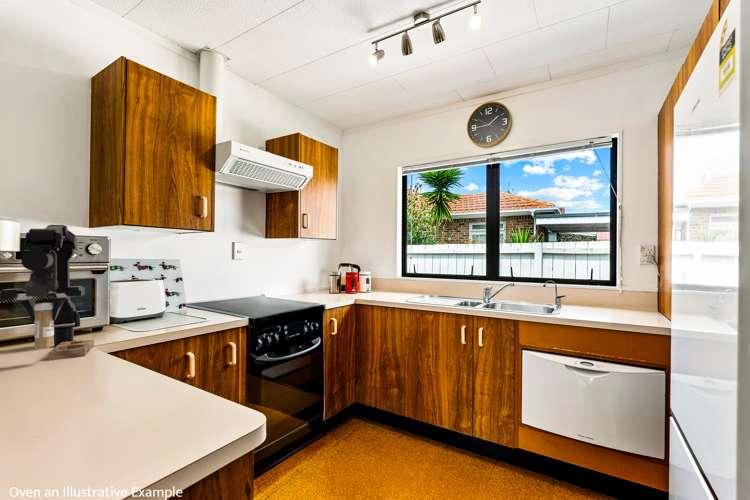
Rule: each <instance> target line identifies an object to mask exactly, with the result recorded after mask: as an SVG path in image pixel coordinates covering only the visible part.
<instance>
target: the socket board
mask: <svg viewBox="0 0 750 500" xmlns="http://www.w3.org/2000/svg"><path fill="white" fill-rule="evenodd" d="M94 346H95V339H93V338H92V339H85V340H84V339H83V340H81V339H79V340H76V341H70V342H62V343H60V344H59V345H58V346H55V347H53V348H52V349H51V350H49V351H48V361H54V360H62V359H73V358H78V357H80V358H81V357H85V356H86V355H87V354H88V353H89V352H90V351H91V350H92V349H93V348H94Z"/></svg>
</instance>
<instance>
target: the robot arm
mask: <svg viewBox="0 0 750 500" xmlns="http://www.w3.org/2000/svg"><path fill="white" fill-rule="evenodd" d="M77 249H78V241H77V237H76V234H75V233H73V232H72V231H70V230H69V229H68V226H67V225H65V224H49V225H47V226H46V227H44V228H30V229H28V232H26V233H25V237H24V241H23V247H22V251H25V253H24V254H23V256H22V258H21V265H22V266H23V267H24V268H25V269H26V270H29V271H30V275H29V280H28V281H27V282H26V283H25V284H24V288H23V287H22V288H5V289H2V290H0V301H8V300H14V299H15V298H16V300H15V302H16V303H20V304H22V306H23V307H24V308H25V309H26V311H27V313H28V315H29V317H30V319H31V322H32V323H34V321H35V310H34V305H35V304H36V297H40V296H41V297H44V296H53V303H54V309H53V320H54V346H53V348H55V347H56V346H58V345H59V344H60V343H62V342H70V341H77V340H74V332H75V331H74V329H75V328H79V327H81V317H80V316H81V315H80V314H79V313H78V310H76V305H75V304H74V302H72V300H71V297H81V296H84V295H85V294H86V293H85V291H86V289H85V287H84V286H83V285H75V286H74V285H73V286H71V284H70V281H71V280H70V278H71V277H70V275H71V274H70V271H71V269H70V266H71V265H70V262H71V259H72V258H73V257H74V256H75V254H76V250H77ZM26 251H28V252H26Z"/></svg>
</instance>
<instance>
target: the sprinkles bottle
mask: <svg viewBox="0 0 750 500" xmlns="http://www.w3.org/2000/svg"><path fill="white" fill-rule="evenodd" d="M53 309H54V302H40V303H35V305H34V310H35V321H34V322H33V324H34V349H35V350H43V349H44V350H45V349H49V348H52V347H53V346H54V326H55V325H54V320H53ZM53 348H54V347H53Z"/></svg>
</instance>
